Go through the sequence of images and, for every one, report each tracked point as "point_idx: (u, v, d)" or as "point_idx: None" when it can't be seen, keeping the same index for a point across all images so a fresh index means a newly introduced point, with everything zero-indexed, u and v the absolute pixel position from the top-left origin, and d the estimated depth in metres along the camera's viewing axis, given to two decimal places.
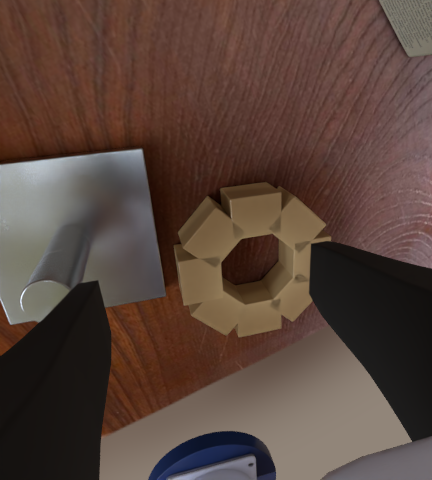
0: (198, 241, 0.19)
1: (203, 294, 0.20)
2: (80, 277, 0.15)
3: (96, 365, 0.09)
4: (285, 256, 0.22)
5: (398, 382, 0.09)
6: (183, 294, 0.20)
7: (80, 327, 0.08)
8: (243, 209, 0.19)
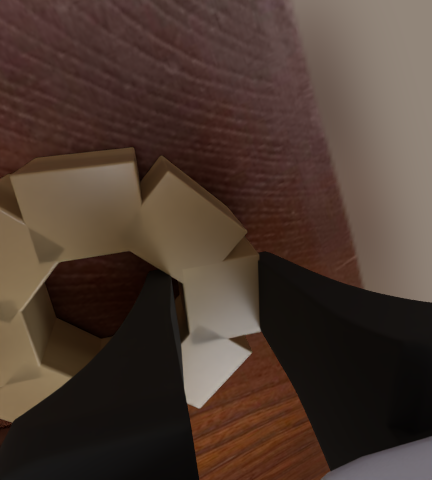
0: None
1: None
2: None
3: (178, 348, 0.09)
4: None
5: (315, 403, 0.08)
6: None
7: (171, 310, 0.08)
8: None
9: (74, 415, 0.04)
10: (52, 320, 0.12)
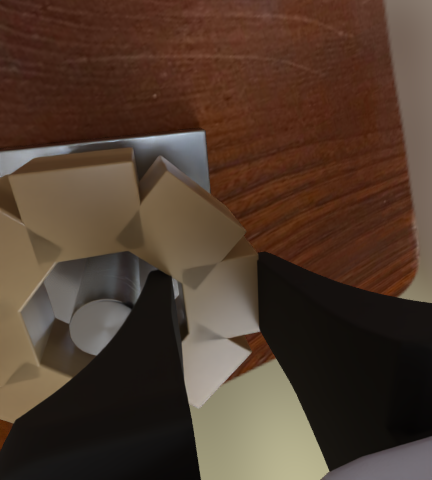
0: None
1: None
2: (101, 273, 0.11)
3: (179, 348, 0.09)
4: None
5: (314, 404, 0.08)
6: None
7: (172, 309, 0.08)
8: None
9: (76, 415, 0.04)
10: (51, 320, 0.12)
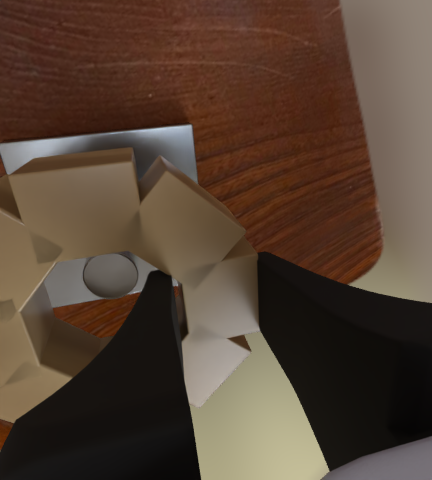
0: None
1: None
2: None
3: (179, 347, 0.09)
4: None
5: (314, 404, 0.08)
6: None
7: (172, 309, 0.08)
8: None
9: (76, 415, 0.04)
10: (51, 320, 0.12)
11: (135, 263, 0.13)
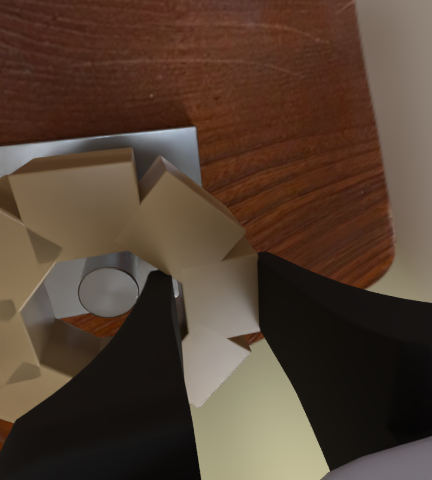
0: None
1: None
2: None
3: (179, 348, 0.09)
4: None
5: (315, 403, 0.08)
6: None
7: (172, 309, 0.08)
8: None
9: (76, 415, 0.04)
10: (51, 320, 0.12)
11: (135, 279, 0.12)
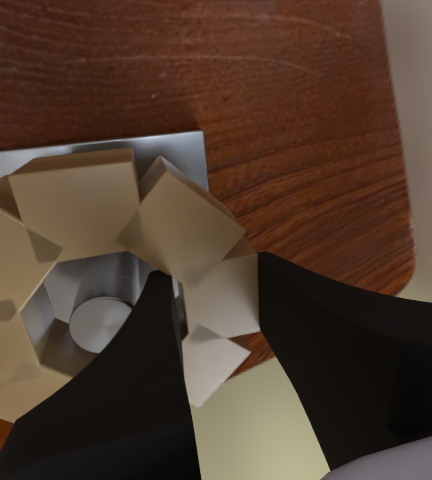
0: None
1: None
2: (100, 271, 0.11)
3: (179, 347, 0.09)
4: None
5: (315, 403, 0.08)
6: None
7: (173, 309, 0.08)
8: None
9: (77, 415, 0.04)
10: (51, 320, 0.12)
11: None
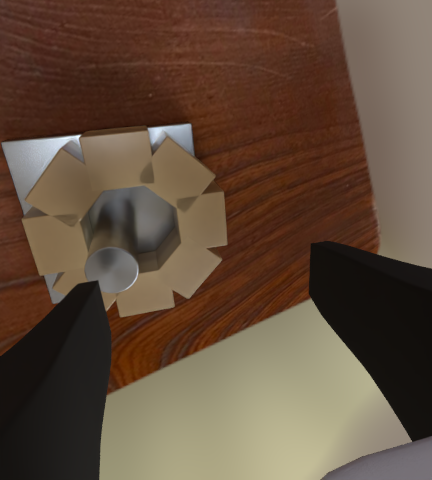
0: None
1: (161, 290, 0.18)
2: (108, 232, 0.14)
3: (96, 365, 0.09)
4: None
5: (398, 382, 0.09)
6: (160, 309, 0.18)
7: (80, 327, 0.08)
8: (50, 260, 0.16)
9: None
10: None
11: (135, 258, 0.13)
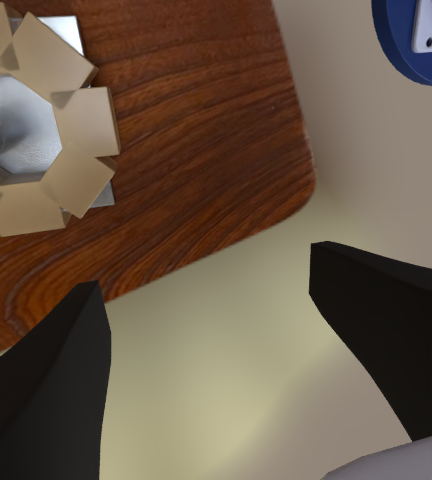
0: None
1: (46, 205, 0.16)
2: None
3: (96, 365, 0.09)
4: None
5: (398, 382, 0.09)
6: (48, 229, 0.17)
7: (80, 327, 0.08)
8: None
9: None
10: None
11: None
